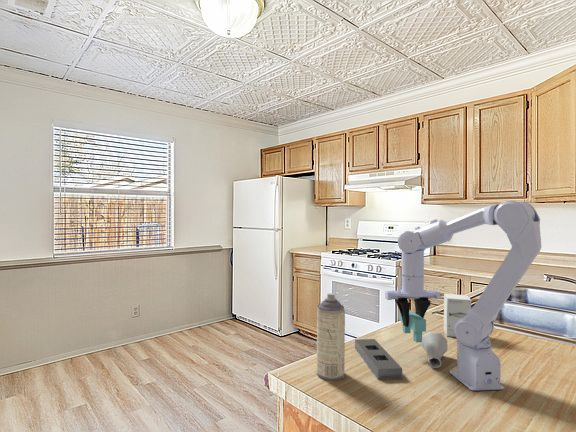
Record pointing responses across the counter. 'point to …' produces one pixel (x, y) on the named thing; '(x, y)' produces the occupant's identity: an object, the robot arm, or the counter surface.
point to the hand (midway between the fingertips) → (412, 325)
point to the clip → (414, 325)
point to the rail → (378, 359)
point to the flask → (434, 347)
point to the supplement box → (454, 311)
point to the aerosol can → (330, 339)
